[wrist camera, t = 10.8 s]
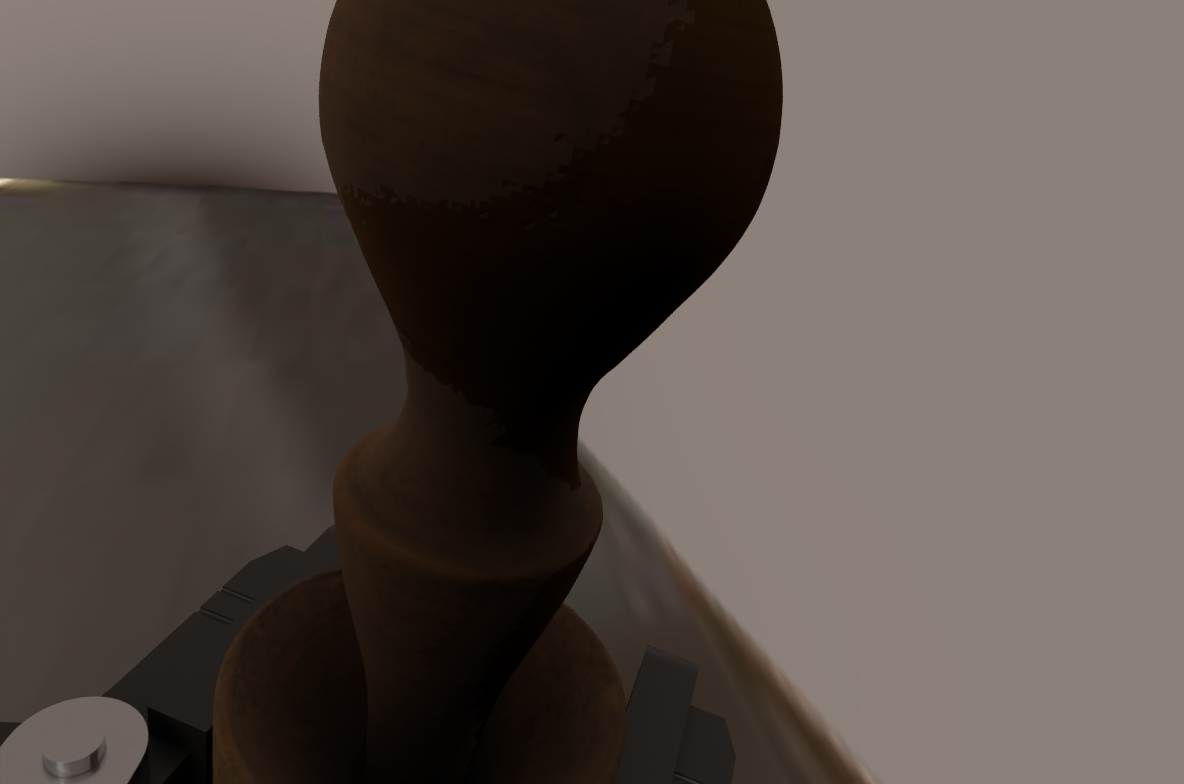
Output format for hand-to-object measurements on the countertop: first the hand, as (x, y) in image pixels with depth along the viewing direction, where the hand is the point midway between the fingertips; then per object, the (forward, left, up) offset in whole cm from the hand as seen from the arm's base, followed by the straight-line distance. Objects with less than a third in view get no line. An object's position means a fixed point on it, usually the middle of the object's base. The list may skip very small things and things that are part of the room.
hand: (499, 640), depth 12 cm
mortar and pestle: (+2, -1, -9) cm, 10 cm away
